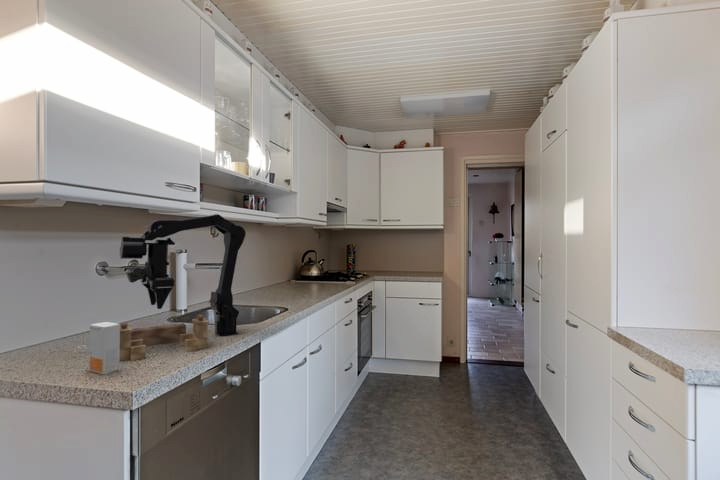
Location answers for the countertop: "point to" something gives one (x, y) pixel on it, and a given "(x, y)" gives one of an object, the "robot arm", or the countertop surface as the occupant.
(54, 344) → the countertop surface
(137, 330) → the rail
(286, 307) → the countertop surface
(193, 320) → the wooden stepped supports
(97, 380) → the countertop surface
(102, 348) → the skincare box
